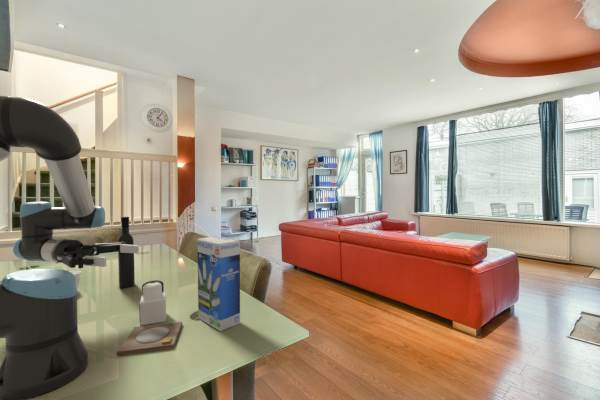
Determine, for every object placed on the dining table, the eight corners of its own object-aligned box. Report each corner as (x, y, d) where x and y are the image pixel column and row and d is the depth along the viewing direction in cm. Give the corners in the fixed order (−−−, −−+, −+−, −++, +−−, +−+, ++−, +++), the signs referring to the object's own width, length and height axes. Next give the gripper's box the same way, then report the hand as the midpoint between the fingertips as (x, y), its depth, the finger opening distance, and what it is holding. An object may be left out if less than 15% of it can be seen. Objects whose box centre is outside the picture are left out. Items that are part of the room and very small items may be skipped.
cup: (60, 297, 108) (59, 276, 108) (58, 290, 115) (57, 271, 115) (83, 292, 113) (82, 272, 113) (79, 286, 120) (79, 268, 120)
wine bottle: (134, 282, 125) (132, 216, 124) (135, 286, 120) (133, 217, 119) (119, 285, 121) (117, 217, 120) (119, 288, 117) (117, 217, 116)
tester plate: (173, 348, 72) (173, 342, 72) (117, 355, 69) (116, 349, 69) (182, 324, 85) (181, 320, 85) (134, 330, 81) (134, 325, 81)
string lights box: (197, 318, 89) (196, 238, 88) (218, 310, 95) (217, 235, 94) (220, 332, 80) (219, 243, 79) (242, 322, 86) (241, 240, 85)
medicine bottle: (142, 316, 90) (141, 280, 90) (166, 312, 93) (165, 277, 93) (139, 326, 84) (138, 287, 84) (165, 321, 87) (165, 283, 87)
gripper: (97, 251, 103) (149, 255, 100) (22, 275, 79) (88, 281, 76) (96, 231, 102) (149, 234, 100) (20, 250, 78) (87, 255, 75)
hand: (123, 255), depth 88 cm, fingers open, 13 cm apart
